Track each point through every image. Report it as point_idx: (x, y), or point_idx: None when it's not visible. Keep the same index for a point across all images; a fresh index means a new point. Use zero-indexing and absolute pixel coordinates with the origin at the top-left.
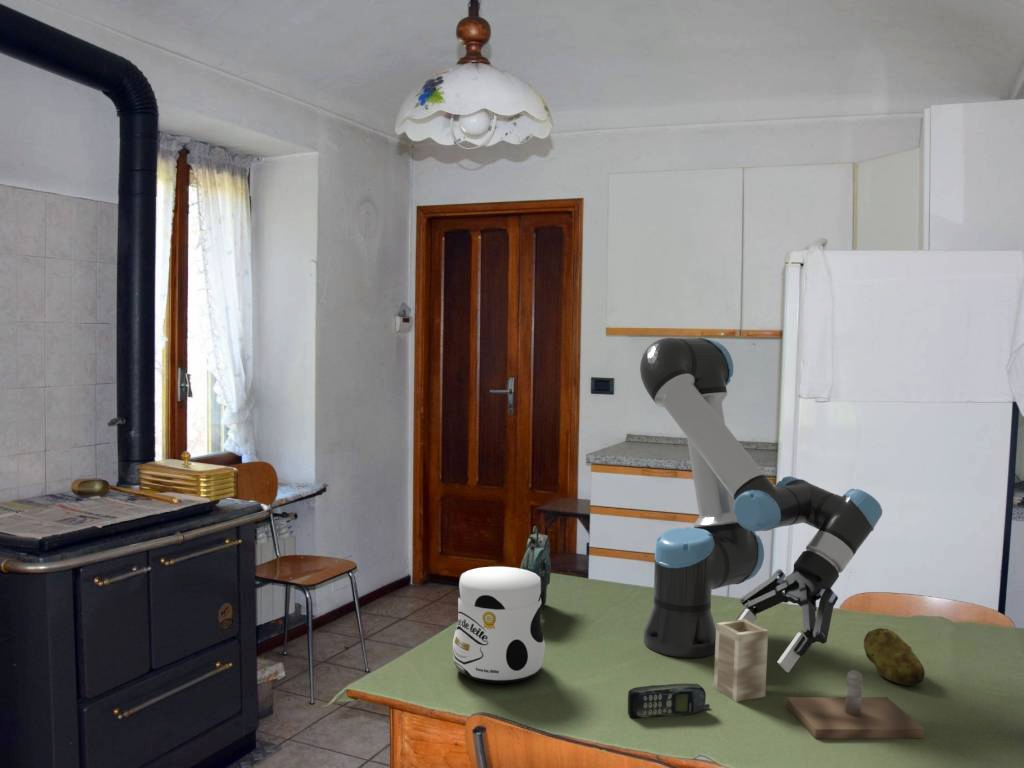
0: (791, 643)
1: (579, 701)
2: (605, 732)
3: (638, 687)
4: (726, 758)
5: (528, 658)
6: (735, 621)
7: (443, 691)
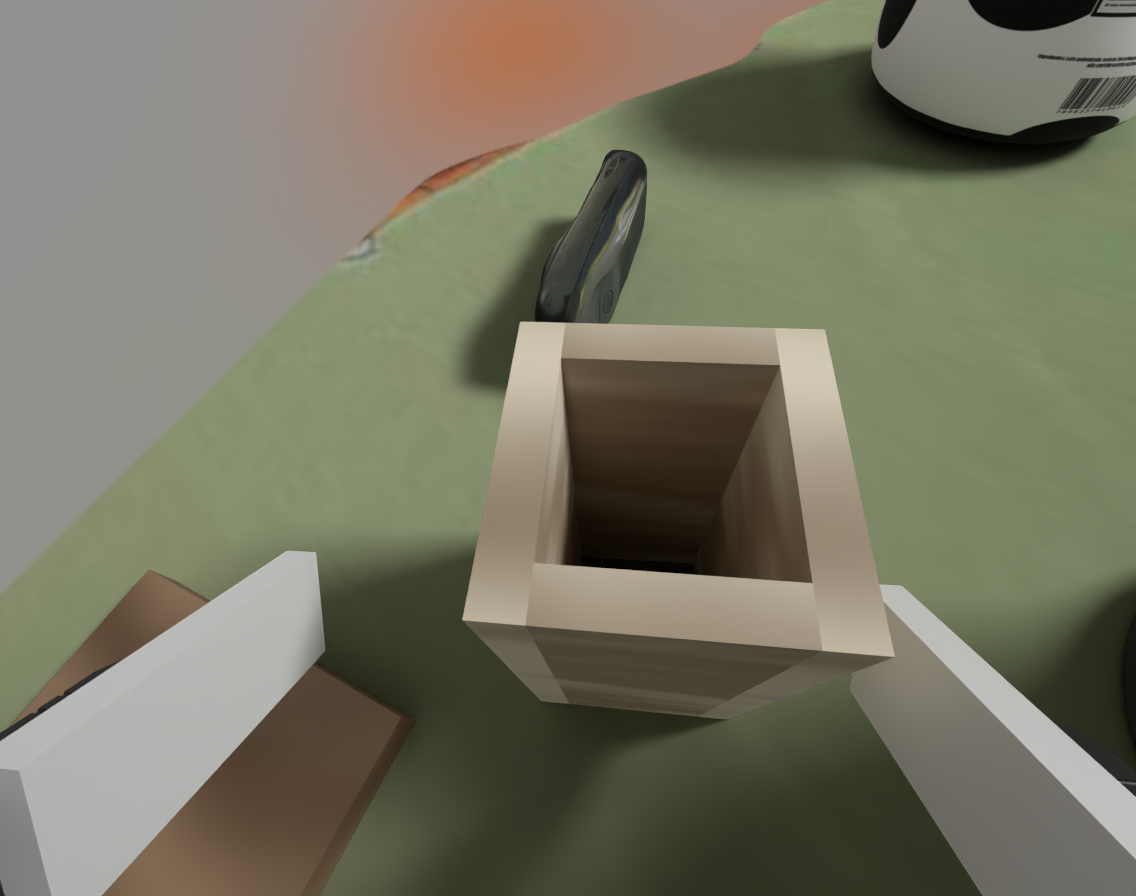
0: (167, 651)
1: (749, 170)
2: (573, 158)
3: (633, 166)
4: (318, 287)
5: (903, 26)
6: (830, 497)
7: (876, 24)
